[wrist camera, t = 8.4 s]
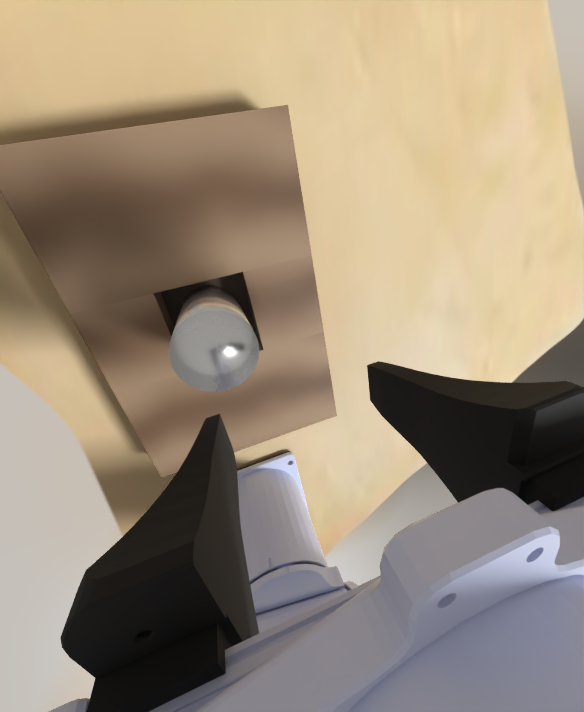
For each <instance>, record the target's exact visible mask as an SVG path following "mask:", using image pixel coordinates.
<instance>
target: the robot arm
mask: <svg viewBox="0 0 584 712" xmlns="http://www.w3.org/2000/svg"><path fill="white" fill-rule="evenodd" d="M367 368H368V379H369V390H370V400H371V402H372V403H373V404H374V406H375V407H376V409H377V410H378V411H379V412H380V414H381V415H382V416H383V417H384V418H385V419H386V420H387V421H388V422H389V423H390V424H391V425H392V426H393V427H394V428H395V429H396V430H397V431H398V432H399V433H400V434H401V435H402V436H403V437H404V438H405V439H406V440H407V441H408V442H409V443H410V444H411V445H412V446H413V447H414V448H415V449H416V450H417V451H418V452H419V453H420V454H421V456H422V457H423V458H424V459H425V460H426V462H427V463H428V464H429V465H430V467H431V468H432V469H433V470H434V471H435V473H436V474H437V475H438V476H439V478H440V479H441V480H442V482H443V483H444V484H445V485H446V487H447V488H448V489H449V491H450V492H451V493H452V495H453V496H454V497H455V499H456V500H457V502H458V503H457V504H454V505H452V506H450V507H448V508H445V509H444V510H441V511H439V512H437V513H434V514H432V515H430V516H428V517H426V518H423V519H421V520H419V521H417V522H415V523H412V524H411V525H409V526H407V527H406V528H404V529H403V530H401V531H400V532H398V533H397V534H395V535H394V537H393V538H392V539H391V540H390V542H389V543H388V544H387V545H386V546H385V548H384V551H383V555H382V559H381V563H380V570H381V576H379V577H376V578H374V579H372V580H370V581H368V582H366V583H364V584H362V585H360V586H358V585H356V584H355V583H354V582H350V581H348V582H345V583H343V580H342V578H341V576H340V573H339V570H338V568H337V567H336V566H335V567H328V565H327V562H326V559H325V557H324V554H323V551H322V549H321V546H320V543H319V541H318V538H317V535H316V533H315V530H314V527H313V525H312V522H311V519H310V515H309V511H308V507H307V503H306V499H305V496H304V492H303V488H302V484H301V480H300V476H299V472H298V469H297V465H296V461H295V457H294V454H293V453H292V452H287V453H285V454H282V455H279V456H276V457H274V458H271V459H268V460H266V461H263V462H260V463H257V464H255V465H252V466H249V467H247V468H244V469H241V470H238V471H237V467H236V461H235V456H234V450H233V447H232V444H231V442H230V439H229V436H228V434H227V431H226V429H225V426H224V423H223V421H222V418H221V415H220V414H217V415H214V416H211V417H208V418H206V419H205V421H204V423H203V425H202V427H201V429H200V431H199V434H198V436H197V438H196V440H195V442H194V444H193V446H192V448H191V450H190V451H189V453H188V455H187V457H186V459H185V460H184V462H183V464H182V465H181V467H180V469H179V470H178V472H177V473H176V475H175V476H174V478H173V479H172V481H171V482H170V483H169V485H168V486H167V488H166V489H165V490H164V492H163V493H162V494H161V495H160V496H159V498H158V499H157V500H156V501H155V502H154V504H153V505H152V506H151V507H150V508H149V510H148V511H147V512H146V513H145V514H144V515H143V516H142V517H141V519H140V520H139V521H138V522H137V523H136V524H135V525H134V526H133V527H132V528H131V529H130V530H129V531H128V532H127V533H126V534H125V535H124V536H123V537H122V538H121V539H120V540H119V541H118V542H117V543H116V544H115V545H114V546H113V547H111V548H110V549H109V550H108V551H107V552H106V553H105V554H104V555H103V556H102V557H100V558H99V559H98V560H97V561H96V562H95V563H94V564H93V565H92V566H91V567H89V568H88V569H87V570H86V572H85V574H84V577H83V579H82V581H81V583H80V586H79V588H78V591H77V593H76V596H75V599H74V602H73V605H72V607H71V610H70V613H69V616H68V618H67V621H66V624H65V627H64V630H63V632H62V635H61V644H62V648H63V649H64V650H65V652H66V653H67V654H68V655H69V657H70V658H71V659H73V660H74V661H75V662H77V663H78V664H79V665H80V666H81V667H83V668H84V669H85V670H86V671H88V672H89V673H90V674H91V675H93V676H94V677H95V682H94V686H93V690H92V694H91V698H90V699H87V698H85V699H77V700H74V701H71V702H69V703H66V704H64V705H62V706H60V707H58V708H56V709H53V710H51V711H50V712H584V387H581V386H579V385H576V384H573V383H571V382H567V381H561V382H540V383H500V382H484V381H472V380H464V379H457V378H450V377H444V376H439V375H434V374H429V373H425V372H421V371H416V370H412V369H408V368H405V367H401V366H397V365H393V364H389V363H384V362H376V363H373V364H370V365H367ZM289 461H291V462H289Z"/></svg>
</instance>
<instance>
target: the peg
mask: <svg viewBox="0 0 584 712" xmlns="http://www.w3.org/2000/svg"><path fill="white" fill-rule="evenodd" d="M169 358H170V363H171V365H172V368H173V369H174V371H175V373H176V374H177V375H178V377H179V378H180V379H181V380H182V381H184V382H185V383H186V384H188V385H190V386H191V387H194V388H196V389H199V390H202V391H208V392H219V391H225V390H229V389H231V388H234V387H236V386H238V385H240V384H241V383H242V382H244V381H245V380H246V379H247V378H248V377H249V376H250V375H251V374H252V372H253V371H254V369H255V367H256V365H257V362H258V358H259V344H258V340H257V337H256V335H255V333H254V331H253V329H252V327H251V325H250V323H249V322H248V320H247V318H246V316H245V314H244V312H243V310H242V308H241V307H240V305H239V303H238V301H237V300H236V298H235V297H234V296H233V295H232V294H231V293H230V292H228V291H226V290H224V289H222V288H219V287H214V286H206V287H202V288H199V289H196V290H194V291H193V292H192V293H190V294H189V295H188V296H187V298H186V299H185V301H184V303H183V305H182V308H181V311H180V314H179V317H178V320H177V323H176V325H175V328H174V331H173V334H172V337H171V340H170V344H169Z"/></svg>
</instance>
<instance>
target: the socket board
mask: <svg viewBox="0 0 584 712" xmlns="http://www.w3.org/2000/svg"><path fill="white" fill-rule="evenodd" d="M0 191H1V193H2V195H3V196H4V198H5V200H6V202H7V204H8V205H9V207H10V209H11V211H12V212H13V214H14V216H15V218H16V220H17V221H18V223H19V225H20V227H21V229H22V230H23V232H24V234H25V236H26V237H27V239H28V241H29V243H30V245H31V246H32V248H33V250H34V252H35V254H36V255H37V257H38V259H39V261H40V262H41V264H42V266H43V268H44V270H45V271H46V273H47V275H48V277H49V279H50V280H51V282H52V284H53V286H54V287H55V289H56V291H57V293H58V295H59V296H60V298H61V300H62V302H63V303H64V305H65V307H66V309H67V311H68V312H69V314H70V316H71V318H72V320H73V321H74V323H75V325H76V327H77V328H78V330H79V332H80V334H81V336H82V337H83V339H84V341H85V343H86V345H87V346H88V348H89V350H90V352H91V353H92V355H93V357H94V359H95V361H96V362H97V364H98V366H99V368H100V370H101V371H102V373H103V375H104V377H105V378H106V380H107V382H108V384H109V386H110V387H111V389H112V391H113V393H114V394H115V396H116V398H117V400H118V402H119V403H120V405H121V407H122V409H123V411H124V412H125V414H126V416H127V418H128V419H129V421H130V423H131V425H132V427H133V428H134V430H135V432H136V434H137V436H138V437H139V439H140V441H141V443H142V444H143V446H144V448H145V450H146V452H147V453H148V455H149V457H150V459H151V461H152V462H153V464H154V466H155V468H156V469H157V471H158V473H159V475H160V477H161V478H163V477H166V476H168V475H171V474H174V473H177V472H178V470H179V469H180V467H181V465H182V464H183V462H184V460H185V459H186V457H187V455H188V453H189V451H190V450H191V448H192V446H193V444H194V442H195V440H196V438H197V436H198V434H199V431H200V429H201V427H202V425H203V423H204V421H205V419H206V418H208V417H211V416H214V415H217V414H220V415H221V418H222V421H223V423H224V426H225V429H226V431H227V434H228V436H229V439H230V442H231V444H232V447H233V450H234V452H236V451H239V450H241V449H244V448H247V447H250V446H253V445H256V444H258V443H261V442H264V441H267V440H270V439H272V438H275V437H278V436H281V435H284V434H286V433H289V432H292V431H295V430H298V429H301V428H303V427H306V426H309V425H312V424H315V423H317V422H320V421H323V420H326V419H329V418H332V417H334V416H337V414H336V408H335V401H334V395H333V389H332V382H331V376H330V370H329V363H328V357H327V351H326V344H325V338H324V332H323V325H322V319H321V313H320V306H319V300H318V294H317V287H316V281H315V275H314V268H313V262H312V256H311V249H310V243H309V237H308V230H307V224H306V218H305V211H304V205H303V198H302V192H301V186H300V179H299V173H298V167H297V160H296V154H295V148H294V141H293V135H292V129H291V122H290V116H289V110H288V105H284V106H277V107H270V108H263V109H256V110H248V111H241V112H234V113H227V114H220V115H212V116H205V117H198V118H191V119H184V120H176V121H169V122H162V123H155V124H148V125H140V126H133V127H126V128H119V129H112V130H104V131H97V132H90V133H83V134H76V135H68V136H61V137H54V138H47V139H40V140H32V141H25V142H18V143H11V144H4V145H0ZM206 286H214V287H219V288H222V289H224V290H226V291H228V292H230V293H231V294H232V295H233V296H234V297H235V298H236V300H237V301H238V303H239V305H240V307H241V308H242V310H243V312H244V314H245V316H246V318H247V320H248V322H249V323H250V325H251V327H252V329H253V331H254V333H255V335H256V337H257V340H258V344H259V358H258V362H257V365H256V367H255V369H254V371H253V372H252V374H251V375H250V376H249V377H248V378H247V379H246V380H245V381H244V382H242V383H241V384H240V385H238V386H236V387H234V388H231V389H229V390H225V391H219V392H208V391H202V390H199V389H196V388H194V387H191V386H190V385H188V384H186V383H185V382H184V381H182V380H181V379H180V378H179V377H178V375H177V374H176V373H175V371H174V369H173V368H172V365H171V363H170V358H169V344H170V340H171V337H172V334H173V331H174V328H175V325H176V323H177V320H178V317H179V314H180V311H181V308H182V305H183V303H184V301H185V299H186V298H187V296H188V295H189V294H190V293H192V292H193V291H194V290H196V289H199V288H202V287H206Z"/></svg>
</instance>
